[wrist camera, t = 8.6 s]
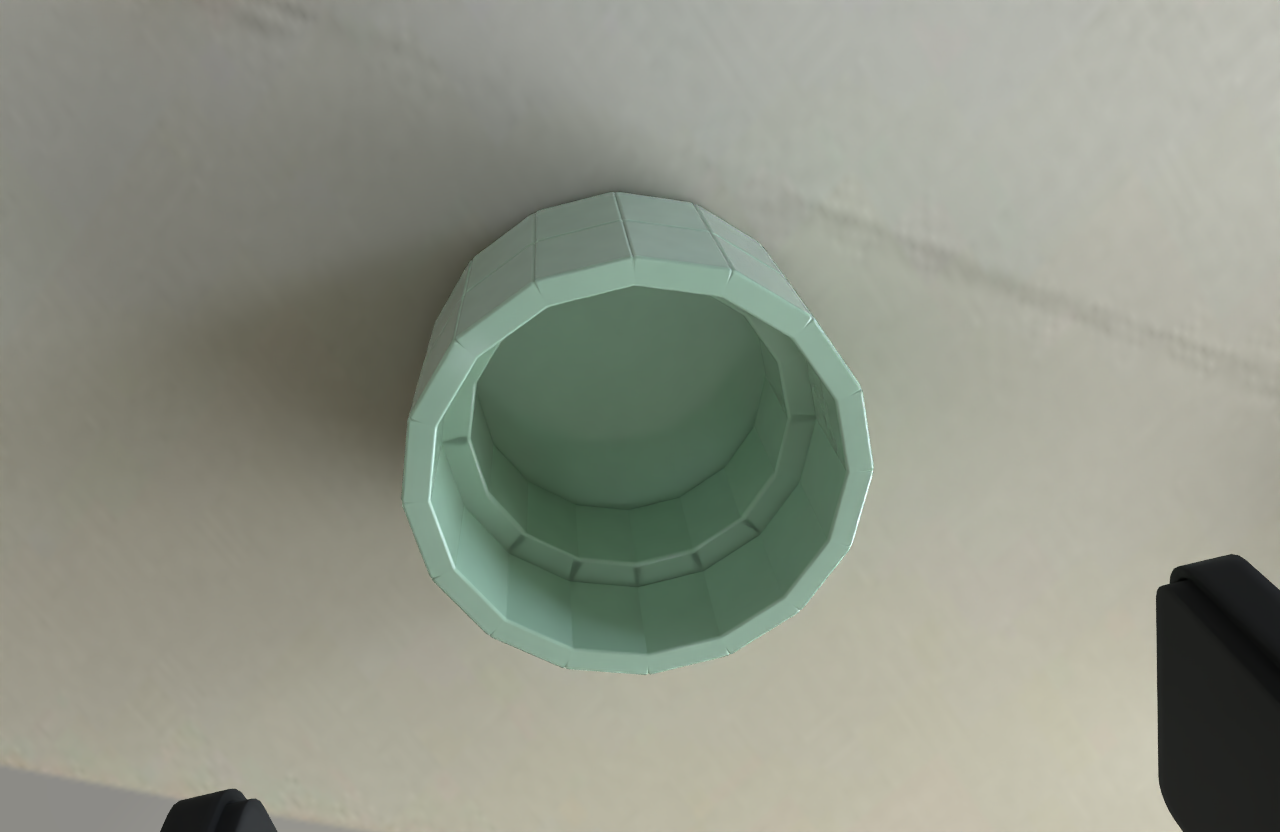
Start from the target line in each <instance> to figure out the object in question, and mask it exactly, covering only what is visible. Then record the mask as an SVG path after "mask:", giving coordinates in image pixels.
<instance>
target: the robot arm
mask: <svg viewBox="0 0 1280 832" xmlns="http://www.w3.org/2000/svg"><path fill="white" fill-rule="evenodd" d="M1156 628H1157V700H1158V772H1159V785H1160V789H1161V793H1162V795H1163V798H1164V801H1165V803H1166V805H1167V807H1168V809H1169V812H1170V813H1171V815H1172V816H1173V818H1174V820H1175V821H1176V822H1177V824H1178V825H1179V827H1180V828H1181V829H1182V831H1183V832H1280V590H1279V589H1278V588H1277V587H1276V586H1274V585H1273V584H1272V583H1271V582H1270V581H1269V580H1268V579H1267V578H1266V577H1264V576H1263V575H1262V574H1261V573H1260V572H1259V571H1258V570H1257V569H1255V568H1254V567H1253V566H1252V565H1251V564H1250V563H1249V562H1248V561H1246V560H1245V559H1243V558H1242V557H1240V556H1239V555H1234V554H1230V555H1226V556H1221V557H1217V558H1213V559H1209V560H1204V561H1200V562H1196V563H1191V564H1187V565H1183V566H1179V567H1177V568H1175V569H1174V570H1173V571H1172V573H1171V576H1170V584H1167V585H1163V586H1161V587H1159V588H1158V590H1157V595H1156ZM160 832H277V830H276V828H275V826H274V824H273V823H272V821H271V819H270V817H269V815H268V813H267V811H266V810H265V808H264V806H263V805H262V803H261V802H260V801H259V800H257V799H249V800H247V799H246V798H245V796H244V795H243V794H242V793H241V792H240V791H238V790H237V789H228V790H223V791H219V792H215V793H211V794H206V795H202V796H198V797H194V798H189V799H185V800H181V801H179V802H177V803H176V804H175V805H173V807H172V809H171V810H170V812H169V813H168V815H167V818H166V820H165V822H164V824H163V827H162V829H161V831H160Z"/></svg>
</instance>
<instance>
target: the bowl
mask: <svg viewBox="0 0 1280 832" xmlns="http://www.w3.org/2000/svg"><path fill="white" fill-rule="evenodd" d="M873 467H874V464H873V457H872V450H871V443H870V437H869V430H868V423H867V416H866V410H865V403H864V396H863V391H862V389H861V386H860V384H859V382H858V381H857V379H856V378H855V377H854V375H853V374H852V372H851V371H850V369H849V368H848V366H847V365H846V363H845V362H844V360H843V359H842V357H841V356H840V354H839V353H838V352H837V350H836V349H835V347H834V346H833V344H832V343H831V341H830V340H829V338H828V337H827V335H826V334H825V332H824V331H823V330H822V328H821V327H820V325H819V324H818V322H817V321H816V319H815V318H814V316H813V315H812V314H811V312H810V311H809V310H808V308H807V307H806V305H805V304H804V303H803V301H802V300H801V298H800V297H799V296H798V294H797V293H796V291H795V290H794V289H793V287H792V286H791V285H790V283H789V282H788V280H787V279H786V278H785V276H784V275H783V273H782V272H781V271H780V269H779V268H778V266H777V265H776V264H775V262H774V261H773V260H772V258H771V257H770V255H769V254H768V253H767V251H766V250H765V248H764V247H763V246H761V245H760V244H759V242H758V241H756V240H755V239H753V238H751V237H750V236H748V235H746V234H745V233H743V232H741V231H740V230H738V229H737V228H735V227H733V226H732V225H730V224H728V223H727V222H725V221H724V220H722V219H720V218H719V217H717V216H715V215H714V214H712V213H710V212H709V211H707V210H706V209H704V208H702V207H701V206H699V205H694V204H693V203H691V202H685V201H678V200H671V199H664V198H657V197H650V196H644V195H637V194H630V193H623V192H616V193H614V192H609V193H605V194H601V195H597V196H594V197H590V198H586V199H582V200H578V201H574V202H570V203H566V204H562V205H558V206H554V207H550V208H546V209H542V210H538V211H537V212H536V214H535V213H534V214H531V215H529V216H528V217H527V218H525V219H524V220H523V221H521V222H520V223H519V224H517V225H516V226H515V227H513V228H512V229H511V230H509V231H508V232H507V233H505V234H504V235H503V236H501V237H500V238H499V239H497V240H496V241H495V242H493V243H492V244H491V245H489V246H488V247H487V248H485V249H484V250H483V251H481V252H480V253H479V254H477V255H476V256H475V257H474V258H473V260H471V261H470V262H469V263H468V265H467V267H466V268H465V270H464V272H463V274H462V276H461V277H460V279H459V281H458V283H457V284H456V286H455V288H454V290H453V291H452V293H451V295H450V297H449V299H448V300H447V302H446V304H445V306H444V307H443V309H442V311H441V313H440V314H439V316H438V318H437V320H436V321H435V323H434V327H433V331H432V334H431V338H430V341H429V345H428V349H427V352H426V356H425V359H424V363H423V367H422V370H421V373H420V377H419V381H418V384H417V388H416V391H415V395H414V399H413V402H412V406H411V409H410V413H409V417H408V420H407V431H406V444H405V456H404V469H403V482H402V495H401V500H402V506H403V509H404V512H405V514H406V517H407V519H408V522H409V524H410V527H411V529H412V532H413V535H414V537H415V540H416V542H417V545H418V547H419V550H420V553H421V555H422V558H423V560H424V563H425V565H426V568H427V571H428V573H429V575H430V577H431V578H432V580H433V581H434V582H435V583H436V584H437V585H438V586H439V587H440V588H441V589H442V590H443V591H444V592H445V593H446V594H447V595H448V596H449V597H450V598H451V599H452V600H453V601H454V602H455V603H456V604H457V605H458V606H459V607H460V608H461V609H462V610H463V611H464V612H465V613H466V614H467V615H468V616H469V617H470V618H471V619H472V620H473V621H474V622H475V623H476V624H477V625H478V626H479V627H480V628H481V629H482V630H483V631H484V632H485V633H486V634H488V635H489V634H490V636H491V637H492V638H494V639H497V640H499V641H501V642H504V643H506V644H508V645H511V646H513V647H515V648H518V649H520V650H522V651H524V652H527V653H529V654H531V655H534V656H536V657H538V658H541V659H543V660H545V661H548V662H550V663H552V664H555V665H557V666H559V667H561V668H564V667H565V668H566V669H574V670H587V671H600V672H614V673H627V674H640V675H647V674H648V673H649V674H655V673H659V672H663V671H667V670H671V669H675V668H679V667H683V666H688V665H692V664H696V663H700V662H704V661H708V660H712V659H716V658H720V657H725V656H728V655H729V653H730V654H733V653H734V652H736V651H737V650H739V649H741V648H742V647H744V646H746V645H747V644H749V643H750V642H752V641H754V640H755V639H757V638H758V637H760V636H762V635H763V634H765V633H766V632H768V631H770V630H771V629H773V628H774V627H776V626H778V625H779V624H781V623H782V622H784V621H786V620H787V619H789V618H791V617H792V616H794V615H795V614H797V613H798V612H799V610H802V609H803V608H804V606H805V605H806V604H807V603H808V601H809V600H810V599H811V598H812V596H813V595H814V594H815V593H816V591H817V590H818V589H819V587H820V586H821V585H822V584H823V582H824V581H825V580H826V579H827V577H828V576H829V575H830V574H831V572H832V571H833V570H834V569H835V567H836V566H837V565H838V564H839V562H840V561H841V560H842V559H843V557H844V556H845V555H846V553H847V552H848V551H849V550H850V546H851V545H852V544H853V540H854V537H855V533H856V530H857V526H858V523H859V520H860V516H861V513H862V509H863V506H864V502H865V499H866V496H867V492H868V489H869V485H870V482H871V478H872V475H873Z"/></svg>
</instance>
